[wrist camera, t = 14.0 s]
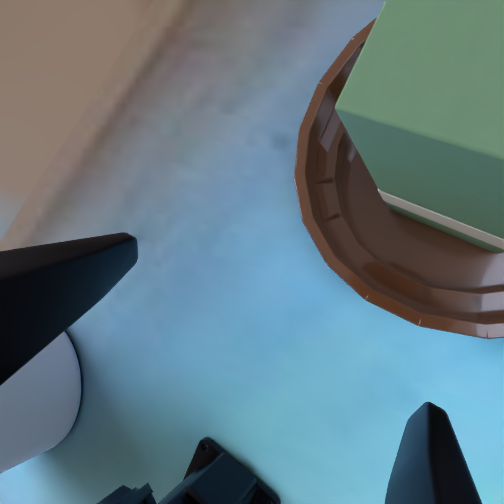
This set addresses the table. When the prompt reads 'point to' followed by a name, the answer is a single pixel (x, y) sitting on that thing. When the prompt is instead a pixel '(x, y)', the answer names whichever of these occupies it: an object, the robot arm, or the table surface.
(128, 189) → the table surface
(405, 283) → the bowl
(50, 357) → the cylinder vase
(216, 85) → the table surface
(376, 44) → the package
